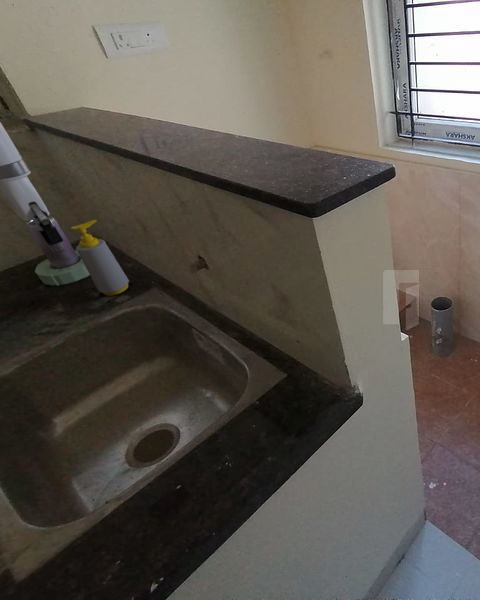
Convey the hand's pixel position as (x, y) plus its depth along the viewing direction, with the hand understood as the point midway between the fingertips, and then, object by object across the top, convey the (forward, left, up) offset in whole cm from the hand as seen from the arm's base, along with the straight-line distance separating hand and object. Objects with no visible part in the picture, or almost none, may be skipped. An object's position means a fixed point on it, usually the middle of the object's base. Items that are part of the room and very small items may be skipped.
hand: (51, 238), depth 100 cm
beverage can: (0, 0, -10) cm, 10 cm away
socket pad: (0, 0, -10) cm, 10 cm away
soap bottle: (+3, -19, -10) cm, 22 cm away
